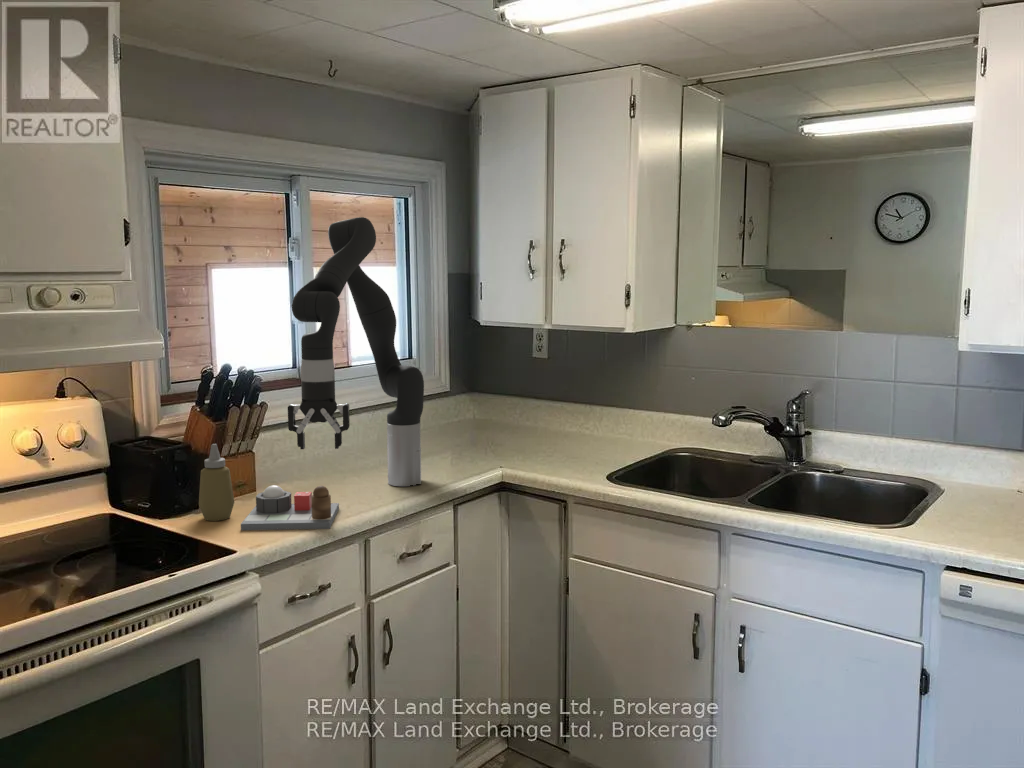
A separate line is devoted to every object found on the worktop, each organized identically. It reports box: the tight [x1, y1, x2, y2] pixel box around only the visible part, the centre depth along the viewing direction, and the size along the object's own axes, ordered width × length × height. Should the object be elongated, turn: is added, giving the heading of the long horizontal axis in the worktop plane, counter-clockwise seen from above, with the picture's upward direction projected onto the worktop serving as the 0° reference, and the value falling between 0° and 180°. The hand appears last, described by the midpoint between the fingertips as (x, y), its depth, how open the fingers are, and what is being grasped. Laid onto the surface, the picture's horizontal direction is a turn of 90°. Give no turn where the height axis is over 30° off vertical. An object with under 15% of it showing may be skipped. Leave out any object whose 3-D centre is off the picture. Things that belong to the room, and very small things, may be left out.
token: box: [311, 485, 332, 519], centre depth 190 cm, size 4×4×7 cm
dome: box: [263, 484, 285, 498], centre depth 197 cm, size 5×5×5 cm
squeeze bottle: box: [198, 443, 235, 522], centre depth 193 cm, size 8×8×18 cm
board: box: [240, 490, 340, 531], centre depth 193 cm, size 20×16×5 cm
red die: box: [293, 491, 313, 510], centre depth 197 cm, size 4×4×4 cm
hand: (319, 448), depth 189 cm, fingers open, 7 cm apart
